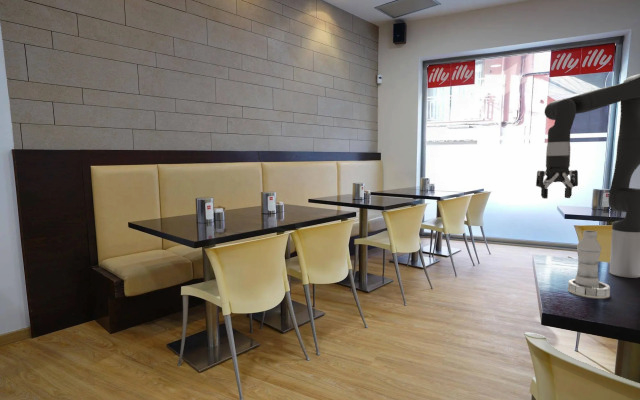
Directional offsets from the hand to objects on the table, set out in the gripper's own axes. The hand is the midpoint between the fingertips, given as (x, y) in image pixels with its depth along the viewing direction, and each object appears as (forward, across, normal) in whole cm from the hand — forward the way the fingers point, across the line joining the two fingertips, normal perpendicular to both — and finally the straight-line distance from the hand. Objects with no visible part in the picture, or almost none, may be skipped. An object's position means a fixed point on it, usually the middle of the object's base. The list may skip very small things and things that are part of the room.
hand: (556, 198), depth 141 cm
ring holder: (+30, 0, -18) cm, 35 cm away
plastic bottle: (+30, 0, -18) cm, 35 cm away
